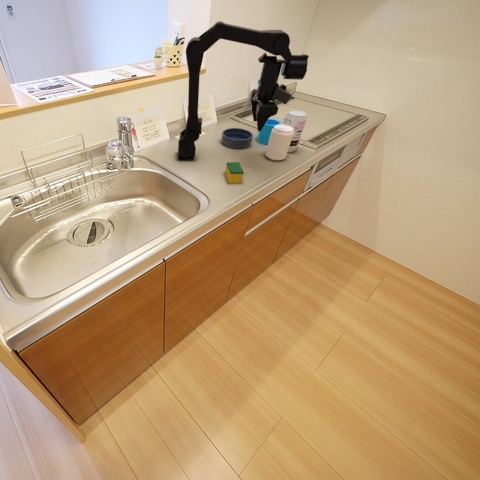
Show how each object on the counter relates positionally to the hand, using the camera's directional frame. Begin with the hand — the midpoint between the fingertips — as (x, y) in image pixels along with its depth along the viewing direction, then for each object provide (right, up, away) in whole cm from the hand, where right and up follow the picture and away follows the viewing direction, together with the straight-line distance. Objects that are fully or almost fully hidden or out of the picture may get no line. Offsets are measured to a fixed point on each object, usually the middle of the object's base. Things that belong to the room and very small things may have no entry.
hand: (257, 126), depth 101 cm
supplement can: (+18, -3, +17) cm, 25 cm away
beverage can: (+12, -8, +12) cm, 18 cm away
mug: (+14, +4, +24) cm, 28 cm away
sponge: (-9, -19, 0) cm, 21 cm away
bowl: (-2, +2, +22) cm, 22 cm away
